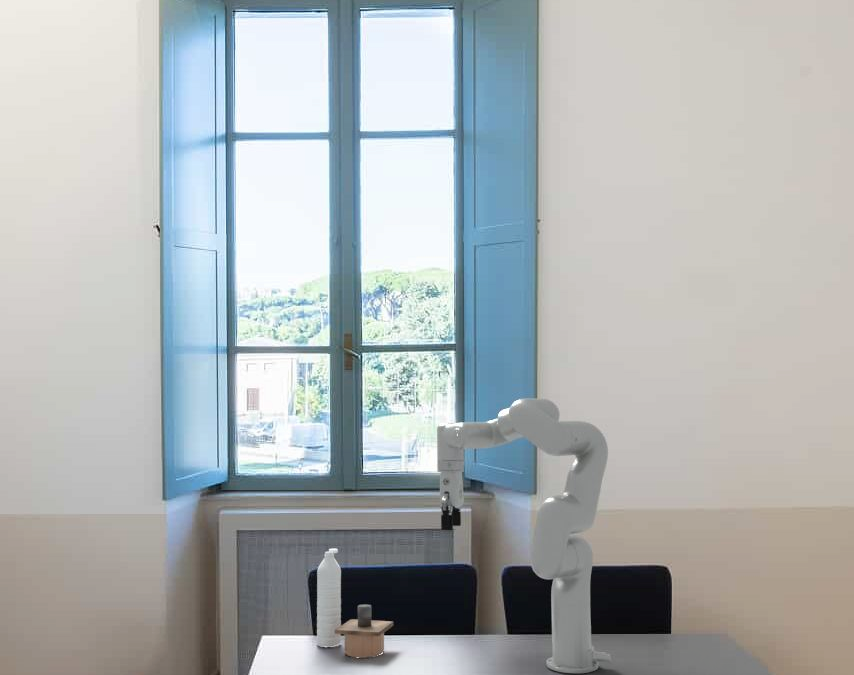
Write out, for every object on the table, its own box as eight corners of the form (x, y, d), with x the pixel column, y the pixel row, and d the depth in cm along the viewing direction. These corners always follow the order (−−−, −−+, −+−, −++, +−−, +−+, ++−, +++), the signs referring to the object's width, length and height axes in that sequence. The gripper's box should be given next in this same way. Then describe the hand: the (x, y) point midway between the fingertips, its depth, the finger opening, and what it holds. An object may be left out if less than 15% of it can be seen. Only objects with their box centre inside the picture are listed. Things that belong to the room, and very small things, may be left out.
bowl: (388, 649, 223) (388, 625, 224) (376, 659, 214) (376, 635, 214) (352, 646, 226) (352, 623, 226) (339, 656, 216) (339, 632, 217)
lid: (393, 625, 224) (393, 602, 225) (378, 636, 213) (378, 612, 214) (351, 622, 228) (351, 600, 228) (334, 633, 216) (334, 609, 217)
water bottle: (337, 649, 224) (337, 553, 226) (313, 648, 225) (314, 553, 227) (345, 640, 232) (345, 548, 235) (323, 639, 233) (323, 548, 236)
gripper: (456, 468, 230) (457, 532, 228) (469, 465, 246) (470, 524, 244) (429, 468, 232) (430, 531, 230) (445, 465, 248) (445, 523, 246)
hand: (451, 527), depth 237 cm, fingers open, 9 cm apart
